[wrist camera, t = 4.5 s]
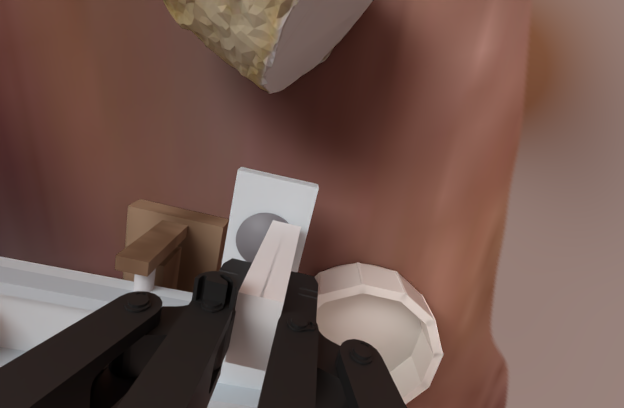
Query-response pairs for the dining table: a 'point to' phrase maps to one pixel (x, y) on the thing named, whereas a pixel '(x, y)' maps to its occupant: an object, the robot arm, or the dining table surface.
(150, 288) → the lever
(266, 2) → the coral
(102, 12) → the dining table surface
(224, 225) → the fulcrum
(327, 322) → the bowl
